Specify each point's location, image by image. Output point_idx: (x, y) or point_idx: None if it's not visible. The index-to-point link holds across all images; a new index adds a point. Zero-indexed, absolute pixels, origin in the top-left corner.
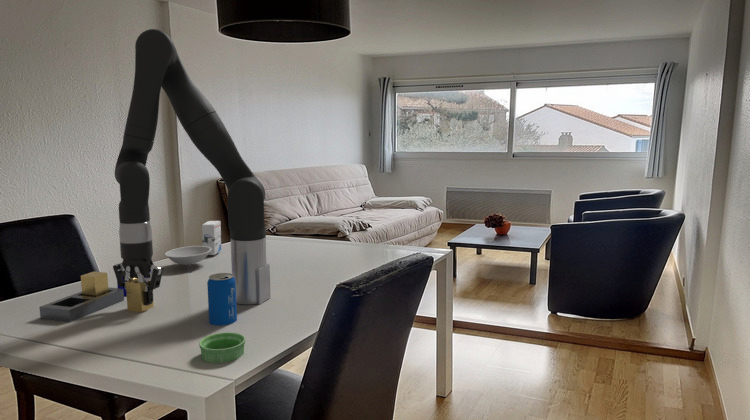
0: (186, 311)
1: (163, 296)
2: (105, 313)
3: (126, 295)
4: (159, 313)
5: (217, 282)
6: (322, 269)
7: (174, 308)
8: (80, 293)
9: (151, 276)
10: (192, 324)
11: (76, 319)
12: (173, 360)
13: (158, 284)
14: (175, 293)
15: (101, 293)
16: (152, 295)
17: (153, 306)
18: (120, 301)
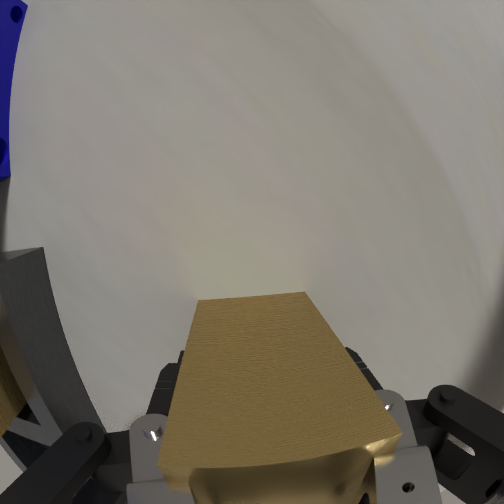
0: (466, 262)
1: (188, 71)
2: (129, 411)
3: (2, 179)
4: (379, 335)
5: None
6: None
7: (409, 247)
8: None
9: (430, 473)
10: (499, 348)
11: None
12: None
13: (463, 408)
14: (223, 10)
15: (4, 378)
16: (370, 378)
17: (308, 297)
18: (44, 277)
